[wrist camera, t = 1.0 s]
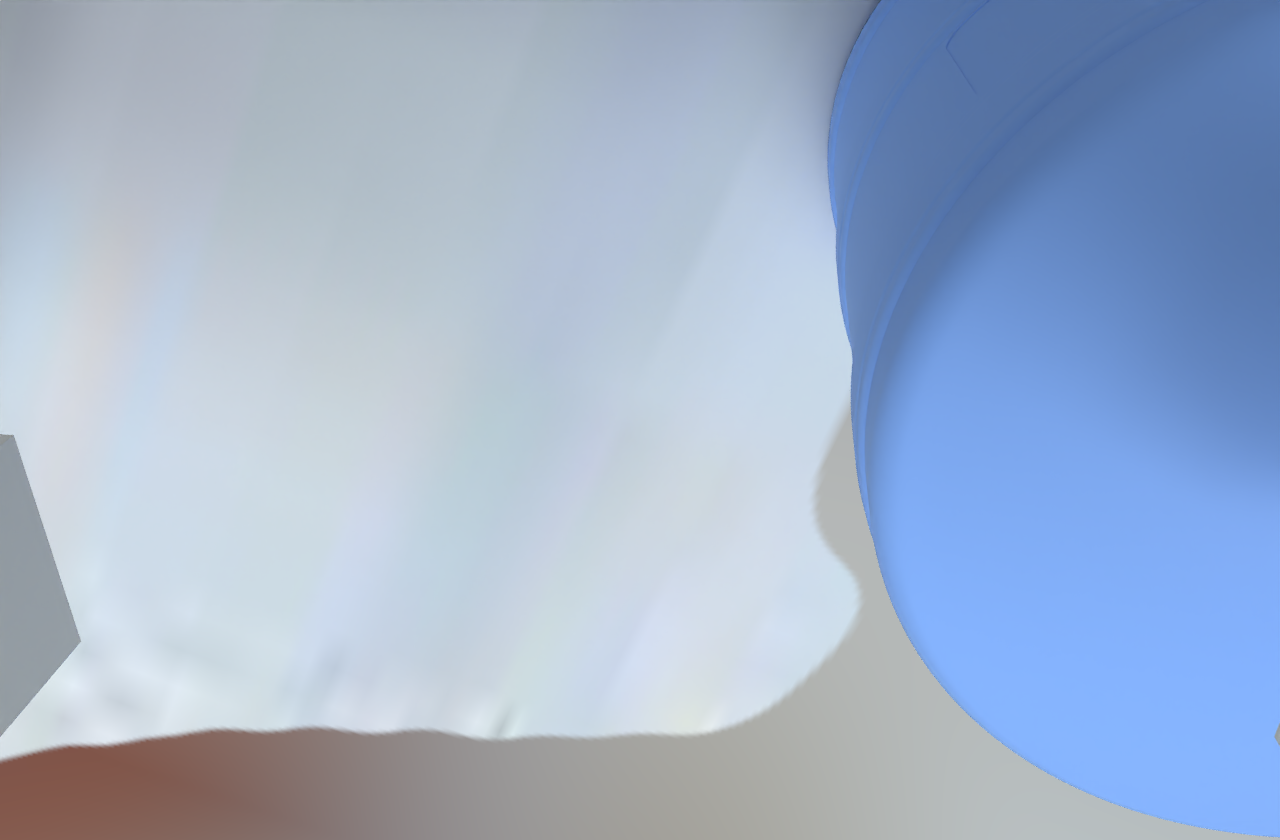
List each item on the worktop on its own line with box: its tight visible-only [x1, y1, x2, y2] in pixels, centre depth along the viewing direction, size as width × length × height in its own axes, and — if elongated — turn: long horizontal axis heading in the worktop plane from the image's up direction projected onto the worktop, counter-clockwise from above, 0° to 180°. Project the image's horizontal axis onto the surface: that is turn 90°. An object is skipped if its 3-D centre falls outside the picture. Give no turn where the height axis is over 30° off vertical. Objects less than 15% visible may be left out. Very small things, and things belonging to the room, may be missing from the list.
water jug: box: [828, 0, 1280, 837], centre depth 22 cm, size 16×16×28 cm
